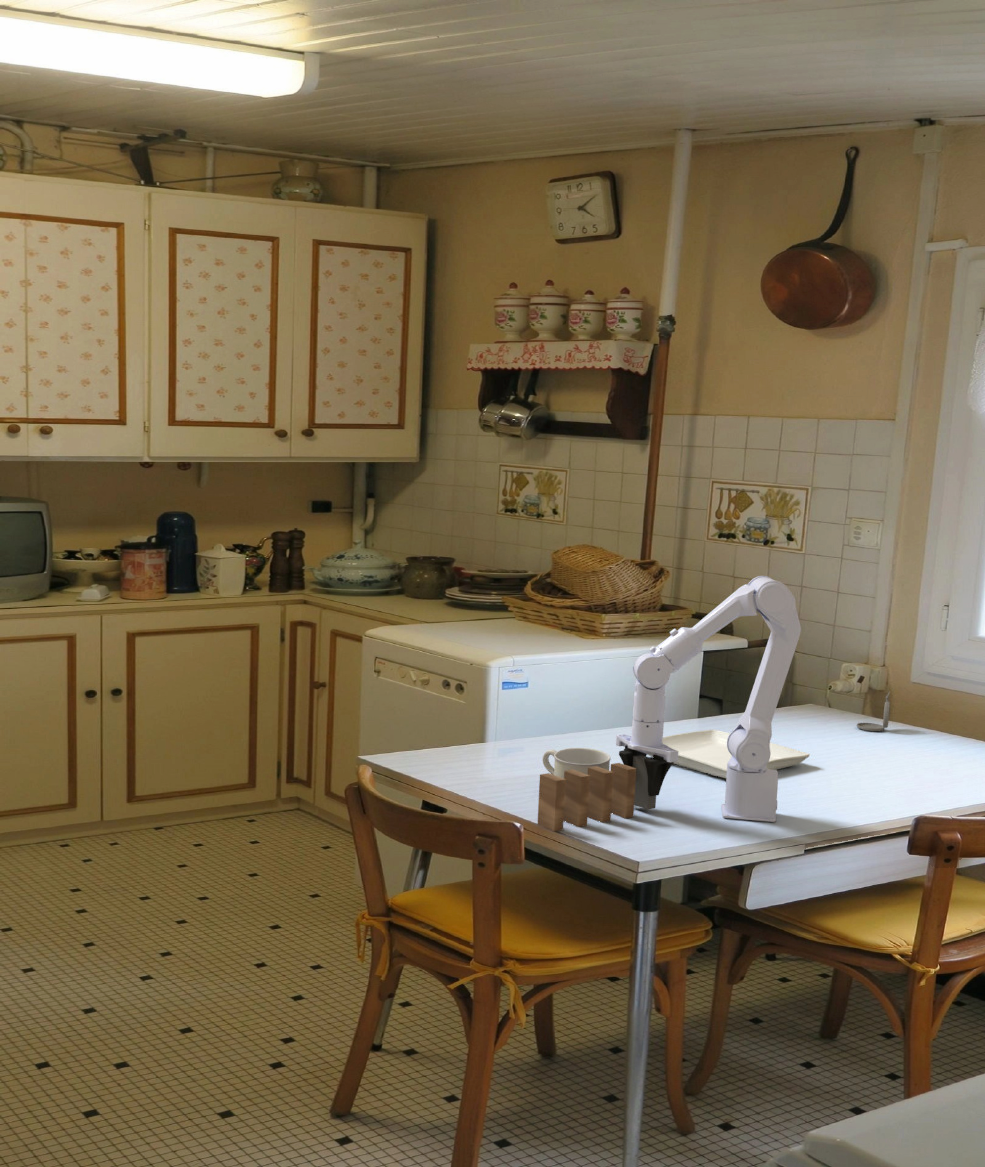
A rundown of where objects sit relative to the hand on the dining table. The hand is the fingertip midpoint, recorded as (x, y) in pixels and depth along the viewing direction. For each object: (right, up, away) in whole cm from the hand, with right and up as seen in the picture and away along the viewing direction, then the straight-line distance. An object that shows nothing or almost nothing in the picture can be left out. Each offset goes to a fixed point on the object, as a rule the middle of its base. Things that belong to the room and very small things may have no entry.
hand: (643, 791), depth 234 cm
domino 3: (-9, -4, -6) cm, 12 cm away
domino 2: (-13, -4, -9) cm, 17 cm away
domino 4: (-5, -4, -3) cm, 7 cm away
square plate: (+22, -1, +41) cm, 46 cm away
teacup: (-12, -2, +10) cm, 16 cm away
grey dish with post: (+67, +2, +81) cm, 105 cm away
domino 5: (0, -3, 0) cm, 3 cm away
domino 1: (-18, -4, -13) cm, 22 cm away
